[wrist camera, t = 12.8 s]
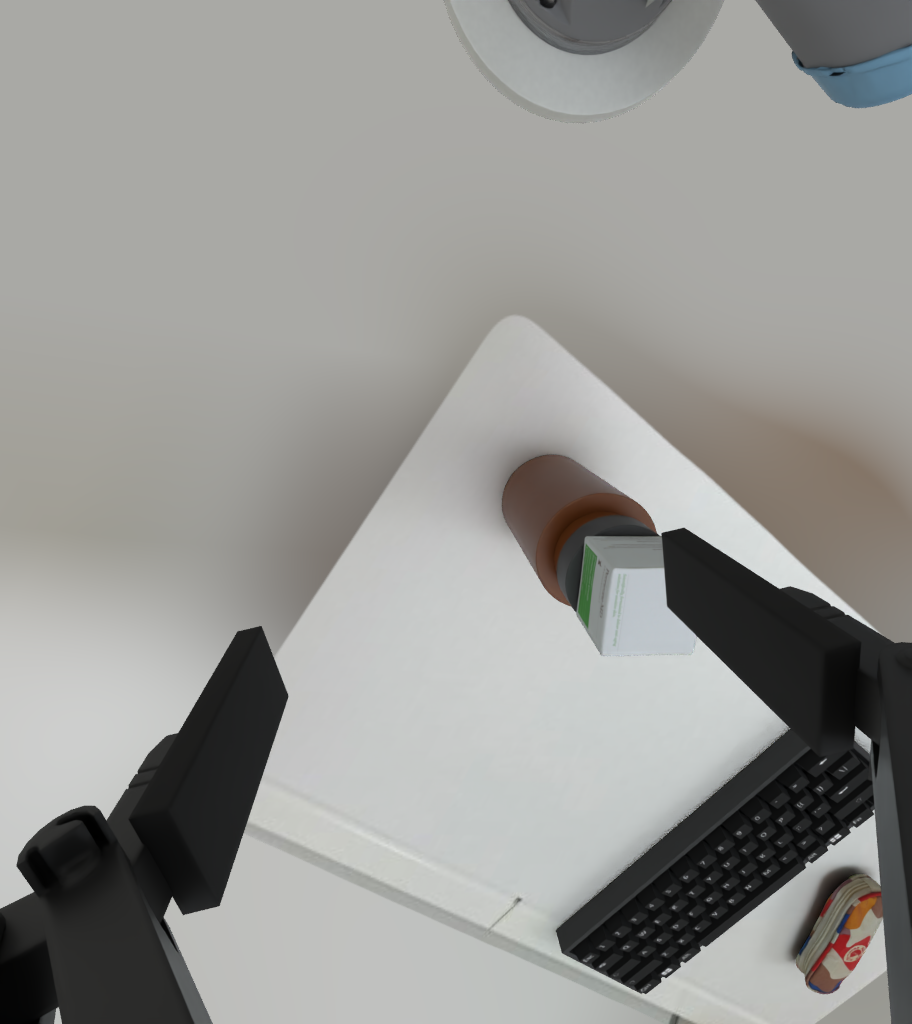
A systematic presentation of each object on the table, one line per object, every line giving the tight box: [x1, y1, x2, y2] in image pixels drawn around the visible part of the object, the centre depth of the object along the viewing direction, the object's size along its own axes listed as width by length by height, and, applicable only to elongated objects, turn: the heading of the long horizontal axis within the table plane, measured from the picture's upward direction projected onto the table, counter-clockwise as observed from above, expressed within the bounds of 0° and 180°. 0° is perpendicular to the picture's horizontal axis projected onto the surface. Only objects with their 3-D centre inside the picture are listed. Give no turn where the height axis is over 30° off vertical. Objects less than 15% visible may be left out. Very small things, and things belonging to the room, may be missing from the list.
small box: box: [576, 536, 697, 656], centre depth 30 cm, size 6×6×5 cm
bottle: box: [502, 455, 659, 612], centre depth 40 cm, size 9×9×17 cm
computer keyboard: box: [556, 729, 875, 994], centre depth 64 cm, size 45×16×4 cm, turn 139°
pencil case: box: [796, 874, 883, 994], centre depth 70 cm, size 11×20×5 cm, turn 158°
